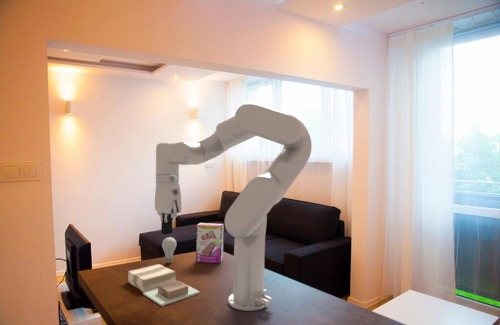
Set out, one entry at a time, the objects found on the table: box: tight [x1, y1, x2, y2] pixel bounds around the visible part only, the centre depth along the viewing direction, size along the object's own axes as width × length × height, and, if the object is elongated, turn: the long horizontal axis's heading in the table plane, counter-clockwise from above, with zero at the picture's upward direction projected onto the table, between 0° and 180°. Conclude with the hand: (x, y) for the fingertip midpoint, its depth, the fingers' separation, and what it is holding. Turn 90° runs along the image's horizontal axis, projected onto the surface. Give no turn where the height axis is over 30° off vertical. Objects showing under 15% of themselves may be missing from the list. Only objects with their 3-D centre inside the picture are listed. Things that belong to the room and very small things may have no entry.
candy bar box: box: [195, 222, 225, 264], centre depth 140 cm, size 11×5×16 cm, turn 84°
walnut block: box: [158, 280, 189, 300], centre depth 105 cm, size 7×7×2 cm
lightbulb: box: [161, 236, 177, 264], centre depth 137 cm, size 6×6×11 cm
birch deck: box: [127, 263, 177, 293], centre depth 116 cm, size 12×12×4 cm
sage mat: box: [142, 280, 201, 307], centre depth 106 cm, size 12×14×1 cm
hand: (166, 233), depth 109 cm, fingers closed
